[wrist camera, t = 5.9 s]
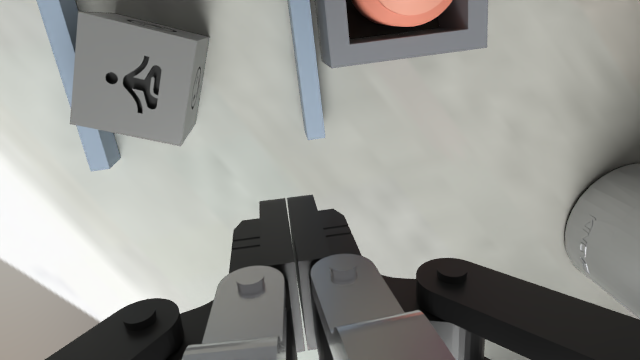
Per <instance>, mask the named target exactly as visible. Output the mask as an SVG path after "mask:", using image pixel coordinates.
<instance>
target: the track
mask: <svg viewBox="0 0 640 360" xmlns="http://www.w3.org/2000/svg"><path fill="white" fill-rule="evenodd" d="M37 3H38V6H39V10H40V13H41V16H42V19H43V22H44V25H45V28H46V32H47V35H48V38H49V41H50V44H51V47H52V51H53V54H54V57H55V60H56V63H57V66H58V69H59V73H60V76H61V79H62V82H63V85H64V88H65V91H66V95H67V98H68V101H69V104H70V107H71V103H72V89H73V75H74V62H75V48H76V35H77V21H78V9H77V5H76V2H75V0H37ZM288 7H289V14H290V22H291V30H292V37H293V45H294V52H295V60H296V68H297V75H298V83H299V90H300V98H301V106H302V113H303V121H304V129H305V133H306V136H307V139H308V140H312V139H319V138H325V130H324V121H323V113H322V104H321V95H320V87H319V78H318V69H317V61H316V52H315V43H314V34H313V26H312V17H311V8H310V0H288ZM76 126H77V129H78V132H79V135H80V139H81V142H82V145H83V148H84V151H85V154H86V157H87V161H88V164H89V167H90V170H91V171H97V170H104V169H110V168H111V167H112V166H113V165H114V164H115V163H116V162H117V161H118V160H119V159H120V158H121V157H120V154H119V150H118V147H117V143H116V140H115V136H114V133H113V132H108V131H103V130H98V129H93V128H88V127H83V126H78V125H76Z"/></svg>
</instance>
